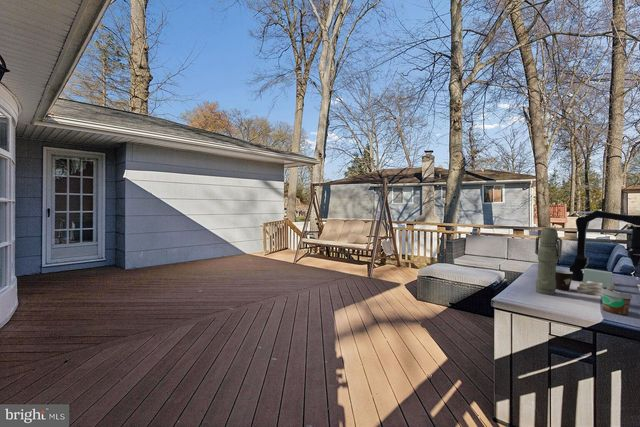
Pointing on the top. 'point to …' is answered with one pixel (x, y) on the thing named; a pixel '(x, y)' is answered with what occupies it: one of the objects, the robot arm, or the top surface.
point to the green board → (598, 277)
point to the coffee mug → (563, 279)
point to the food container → (615, 301)
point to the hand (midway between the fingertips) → (635, 265)
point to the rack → (591, 291)
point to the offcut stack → (594, 285)
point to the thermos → (547, 260)
